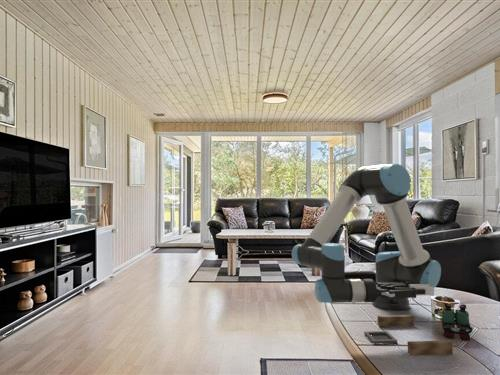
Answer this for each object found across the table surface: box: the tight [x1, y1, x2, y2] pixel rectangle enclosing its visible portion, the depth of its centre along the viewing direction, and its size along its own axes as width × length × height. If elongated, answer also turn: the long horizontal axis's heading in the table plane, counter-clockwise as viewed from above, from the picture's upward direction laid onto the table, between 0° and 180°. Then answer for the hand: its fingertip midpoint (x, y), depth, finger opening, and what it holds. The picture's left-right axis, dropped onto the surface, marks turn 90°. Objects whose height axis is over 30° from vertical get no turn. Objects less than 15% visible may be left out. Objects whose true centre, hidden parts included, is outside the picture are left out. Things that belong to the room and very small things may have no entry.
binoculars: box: [441, 302, 474, 342], centre depth 121 cm, size 9×11×10 cm
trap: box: [363, 330, 398, 344], centre depth 120 cm, size 8×8×1 cm
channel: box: [376, 314, 454, 356], centre depth 120 cm, size 13×25×4 cm, turn 2°
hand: (430, 289), depth 121 cm, fingers open, 2 cm apart
